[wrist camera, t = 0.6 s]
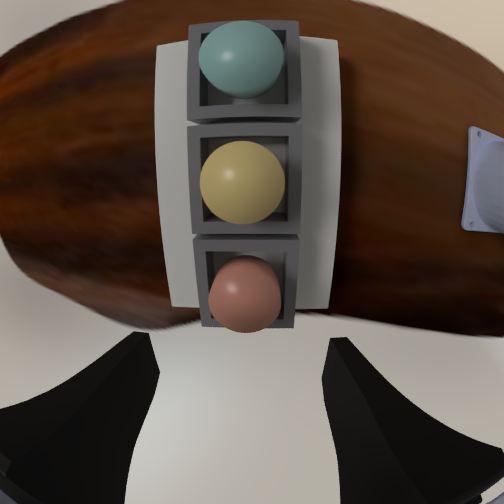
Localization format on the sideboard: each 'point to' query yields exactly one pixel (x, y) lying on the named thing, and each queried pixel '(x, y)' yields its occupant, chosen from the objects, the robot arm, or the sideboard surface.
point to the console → (272, 138)
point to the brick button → (245, 294)
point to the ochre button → (242, 182)
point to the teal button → (241, 59)
